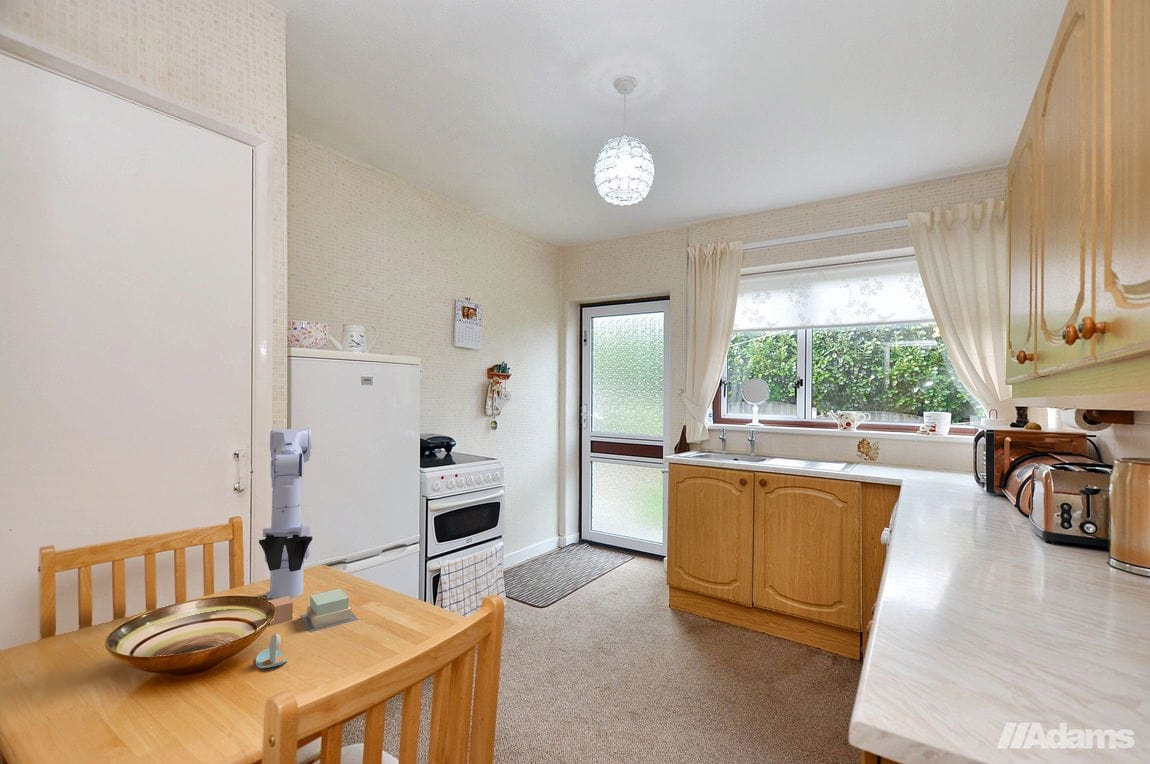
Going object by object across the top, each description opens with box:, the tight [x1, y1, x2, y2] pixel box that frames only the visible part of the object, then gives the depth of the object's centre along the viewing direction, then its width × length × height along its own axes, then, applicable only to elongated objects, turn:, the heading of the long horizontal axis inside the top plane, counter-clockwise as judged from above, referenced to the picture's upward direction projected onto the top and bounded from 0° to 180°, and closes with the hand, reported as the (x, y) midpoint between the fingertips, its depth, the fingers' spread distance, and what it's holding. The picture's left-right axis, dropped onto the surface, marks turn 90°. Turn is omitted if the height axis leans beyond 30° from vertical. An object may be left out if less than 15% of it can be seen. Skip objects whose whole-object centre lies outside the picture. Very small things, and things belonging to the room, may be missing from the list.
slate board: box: [299, 610, 359, 633], centre depth 118 cm, size 10×10×1 cm
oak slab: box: [306, 604, 352, 628], centre depth 118 cm, size 8×8×2 cm
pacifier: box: [255, 633, 289, 669], centre depth 99 cm, size 7×6×6 cm
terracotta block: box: [267, 596, 294, 626], centre depth 117 cm, size 4×4×5 cm
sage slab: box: [309, 588, 349, 616], centre depth 118 cm, size 7×7×2 cm
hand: (284, 570), depth 113 cm, fingers open, 7 cm apart
